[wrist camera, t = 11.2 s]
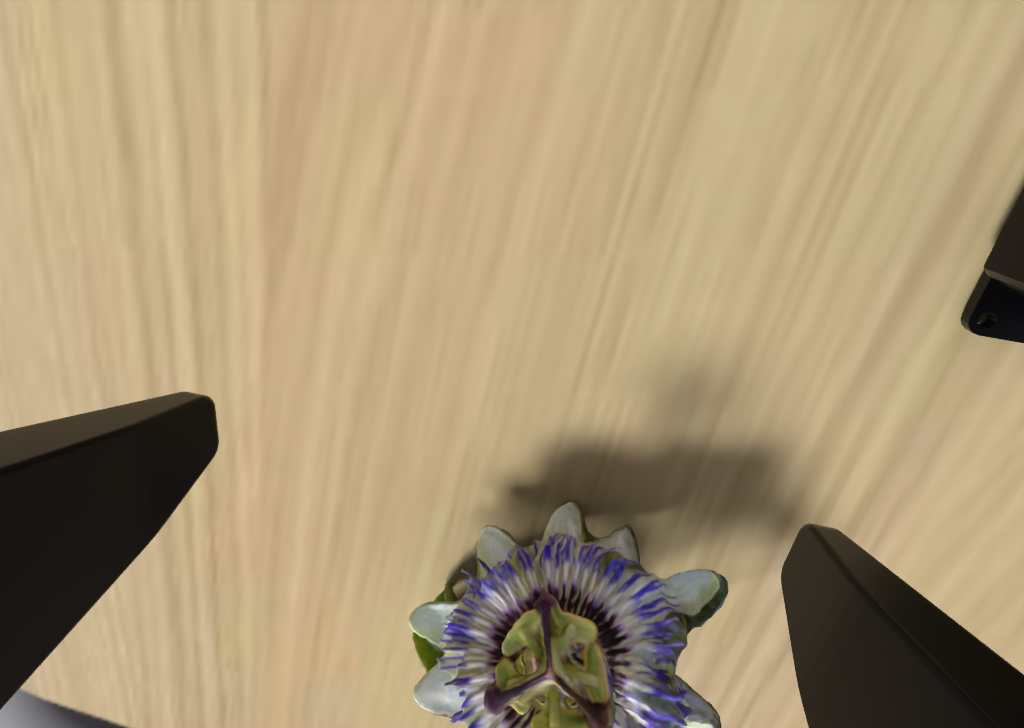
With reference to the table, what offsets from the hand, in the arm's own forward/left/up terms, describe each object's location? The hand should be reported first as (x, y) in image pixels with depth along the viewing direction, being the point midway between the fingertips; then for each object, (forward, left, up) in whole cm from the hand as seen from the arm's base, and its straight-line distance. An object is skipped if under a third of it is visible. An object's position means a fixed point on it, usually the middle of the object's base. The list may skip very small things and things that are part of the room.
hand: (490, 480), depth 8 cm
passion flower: (-3, +14, -12) cm, 19 cm away
